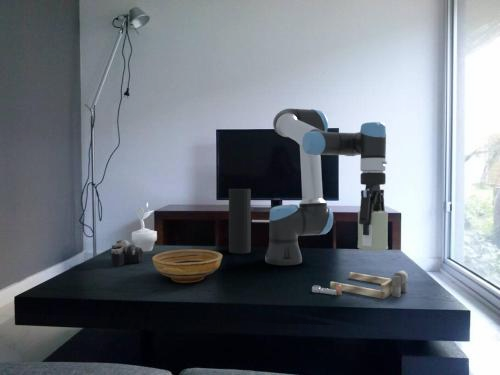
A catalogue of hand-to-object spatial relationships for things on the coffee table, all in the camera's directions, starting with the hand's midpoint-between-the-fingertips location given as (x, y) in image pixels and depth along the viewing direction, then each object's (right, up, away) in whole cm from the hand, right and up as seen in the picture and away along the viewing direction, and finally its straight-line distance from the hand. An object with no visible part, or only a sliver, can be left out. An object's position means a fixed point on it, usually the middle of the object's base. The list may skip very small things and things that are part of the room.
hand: (372, 243), depth 118 cm
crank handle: (-15, -15, -4) cm, 21 cm away
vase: (-44, -13, +57) cm, 73 cm away
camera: (-89, -14, +34) cm, 96 cm away
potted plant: (-88, -13, +58) cm, 107 cm away
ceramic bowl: (-61, -14, +13) cm, 64 cm away
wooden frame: (0, -14, +1) cm, 14 cm away
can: (0, -2, 0) cm, 2 cm away
